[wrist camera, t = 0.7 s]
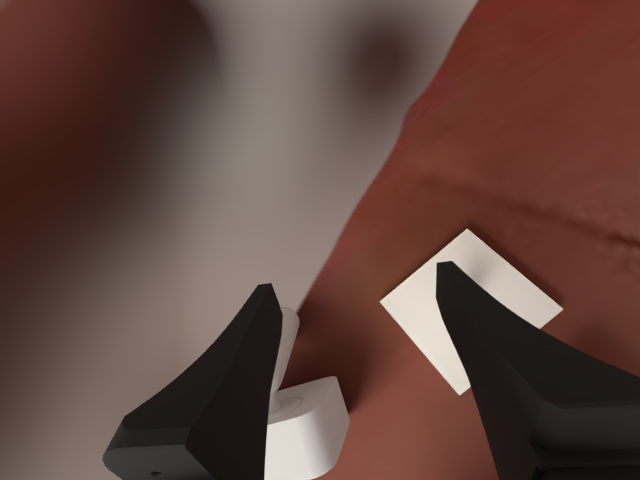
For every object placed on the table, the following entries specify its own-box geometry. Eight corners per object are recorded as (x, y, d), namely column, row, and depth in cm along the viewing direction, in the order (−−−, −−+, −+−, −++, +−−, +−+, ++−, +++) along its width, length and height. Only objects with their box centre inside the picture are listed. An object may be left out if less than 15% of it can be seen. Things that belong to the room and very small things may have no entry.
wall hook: (320, 294, 29) (282, 299, 20) (355, 406, 27) (333, 475, 17) (245, 319, 31) (177, 335, 21) (273, 427, 28) (211, 501, 19)
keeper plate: (558, 311, 23) (585, 300, 19) (458, 394, 23) (465, 400, 20) (465, 232, 28) (473, 210, 24) (381, 303, 28) (373, 293, 24)
